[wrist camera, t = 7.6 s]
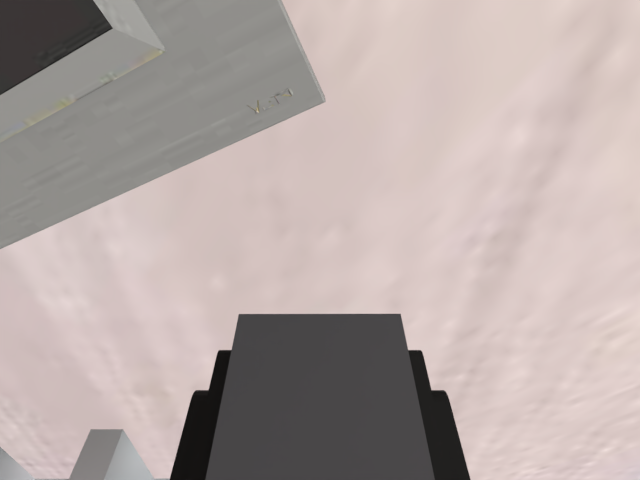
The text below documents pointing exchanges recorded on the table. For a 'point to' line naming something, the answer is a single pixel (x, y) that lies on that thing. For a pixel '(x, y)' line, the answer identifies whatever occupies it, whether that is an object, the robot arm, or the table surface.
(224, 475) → the grey cube mallet
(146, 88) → the electrical outlet
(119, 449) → the four peg comb
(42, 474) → the table surface
